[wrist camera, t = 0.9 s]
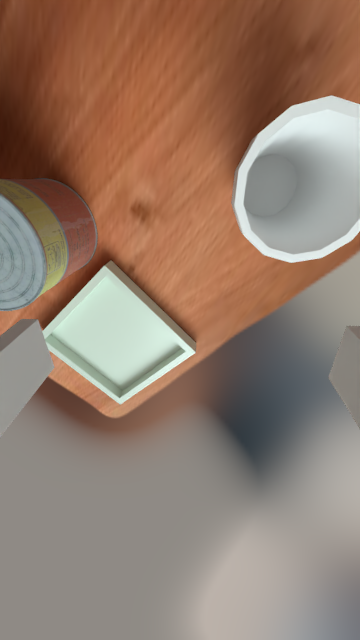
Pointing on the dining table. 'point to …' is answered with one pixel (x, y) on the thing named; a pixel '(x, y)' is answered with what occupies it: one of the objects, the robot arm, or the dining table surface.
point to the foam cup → (302, 181)
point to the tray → (117, 335)
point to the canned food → (40, 238)
